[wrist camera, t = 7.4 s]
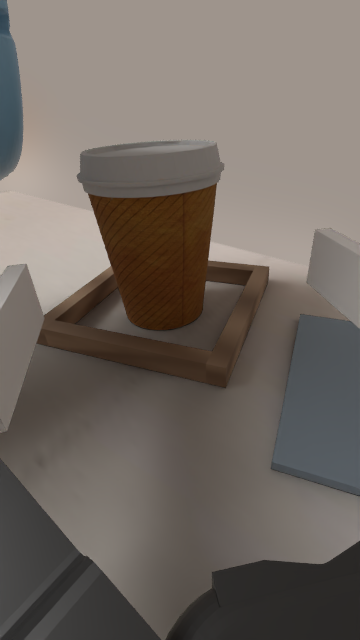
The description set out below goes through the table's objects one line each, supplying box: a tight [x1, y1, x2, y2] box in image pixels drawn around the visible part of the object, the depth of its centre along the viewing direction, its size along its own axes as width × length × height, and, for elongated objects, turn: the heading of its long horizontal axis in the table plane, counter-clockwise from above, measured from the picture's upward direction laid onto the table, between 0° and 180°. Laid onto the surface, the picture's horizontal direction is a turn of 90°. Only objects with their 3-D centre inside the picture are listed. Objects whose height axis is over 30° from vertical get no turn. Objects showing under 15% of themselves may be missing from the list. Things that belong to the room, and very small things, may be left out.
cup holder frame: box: [37, 261, 269, 388], centre depth 27 cm, size 14×14×2 cm
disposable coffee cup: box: [77, 140, 224, 330], centre depth 24 cm, size 10×10×12 cm
